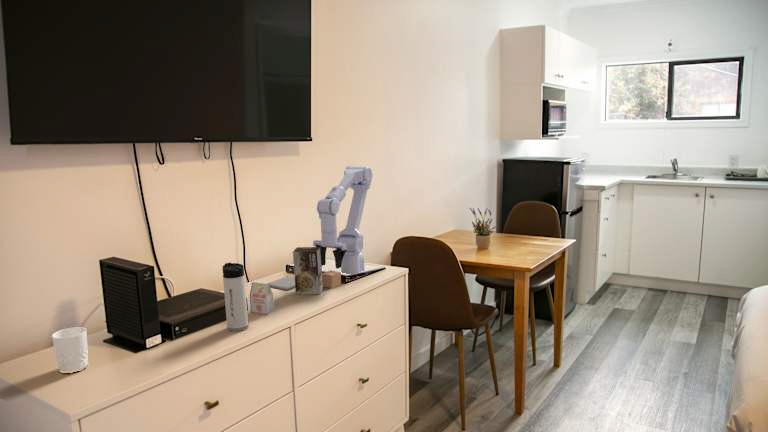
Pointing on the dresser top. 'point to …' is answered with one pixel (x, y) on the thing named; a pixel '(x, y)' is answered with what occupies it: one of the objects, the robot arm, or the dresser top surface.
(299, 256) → the coffee box
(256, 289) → the white printed carton
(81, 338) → the white cup
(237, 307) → the travel mug
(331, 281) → the cube
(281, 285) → the coaster
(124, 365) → the dresser top surface
